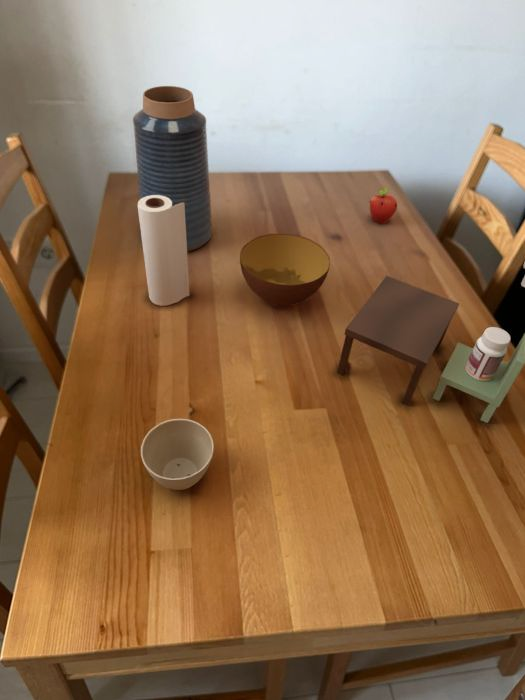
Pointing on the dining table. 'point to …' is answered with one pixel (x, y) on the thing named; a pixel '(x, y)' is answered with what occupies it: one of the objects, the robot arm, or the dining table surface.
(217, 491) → the dining table surface
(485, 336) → the pill bottle
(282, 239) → the bowl
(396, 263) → the dining table surface
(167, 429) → the flower pot
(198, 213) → the vase
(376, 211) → the red round fruit
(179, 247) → the paper towel roll
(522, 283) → the robot arm
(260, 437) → the dining table surface
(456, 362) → the chair
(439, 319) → the toy table
